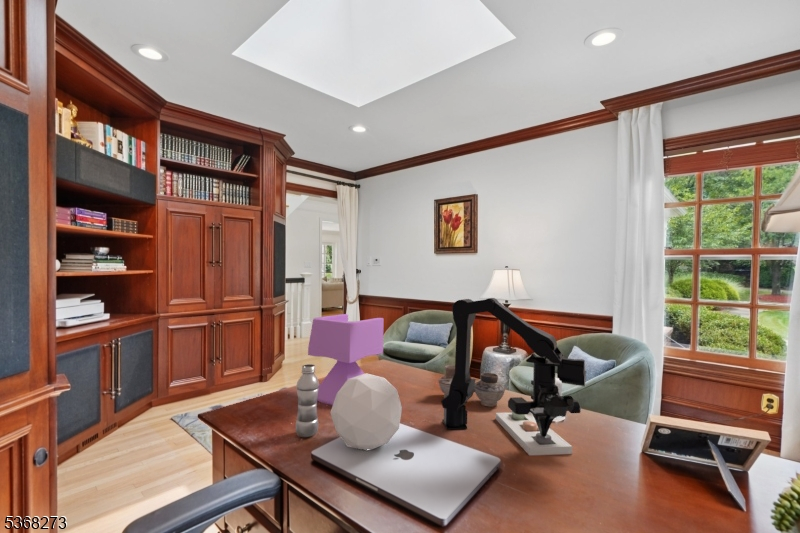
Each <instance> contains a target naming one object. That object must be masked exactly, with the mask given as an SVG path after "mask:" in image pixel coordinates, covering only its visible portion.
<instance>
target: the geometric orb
mask: <svg viewBox="0 0 800 533" xmlns="http://www.w3.org/2000/svg"><path fill="white" fill-rule="evenodd" d="M402 411H403V407H402V402H401V399H400V397H399V392H398V389H397V388H396V387H395V386H394V385H393V384H392V383H391V382H389V380H387V379H386V378H385V377H383V376H378V375H376V374H375V375H374V374H372V373H371V374H370V373H367V372H366V373H365V372H364V374H362V375H359V376H356V377H353V378H350V379H348V380H347V381H346V382H345V384H344V385H343V386H342V387H341V389H340V390H339V391H338V393H337V394H336V397H335V400H334V403H333V405H331V410H330V412H329V414H330V417H331V420H332V422H333V425H334V429H335V431H336V434H337V435H338V436H339V438H341V440H342V441H343V442H344V443H345V445H346V446H347V447H349V448H354V449H357V448H358V449H357V450H362V449H365V450H364V451H366V450H367V449H371V450H374V449H376V448H378V446H379V447H380V446H383V445H385V444H388V443H389V441H390V440H391V439H392V437H394V436H395V434H396V433H397V432H398V431H399V429H400V426H401V425H400V424H401V418H402ZM373 448H374V449H373Z"/></svg>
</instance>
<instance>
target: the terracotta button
mask: <svg viewBox="0 0 800 533" xmlns="http://www.w3.org/2000/svg"><path fill="white" fill-rule="evenodd" d="M523 430H524V431H526V432H536V431H537V424H536V423H534V422H531V421H525V422H523Z"/></svg>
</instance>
